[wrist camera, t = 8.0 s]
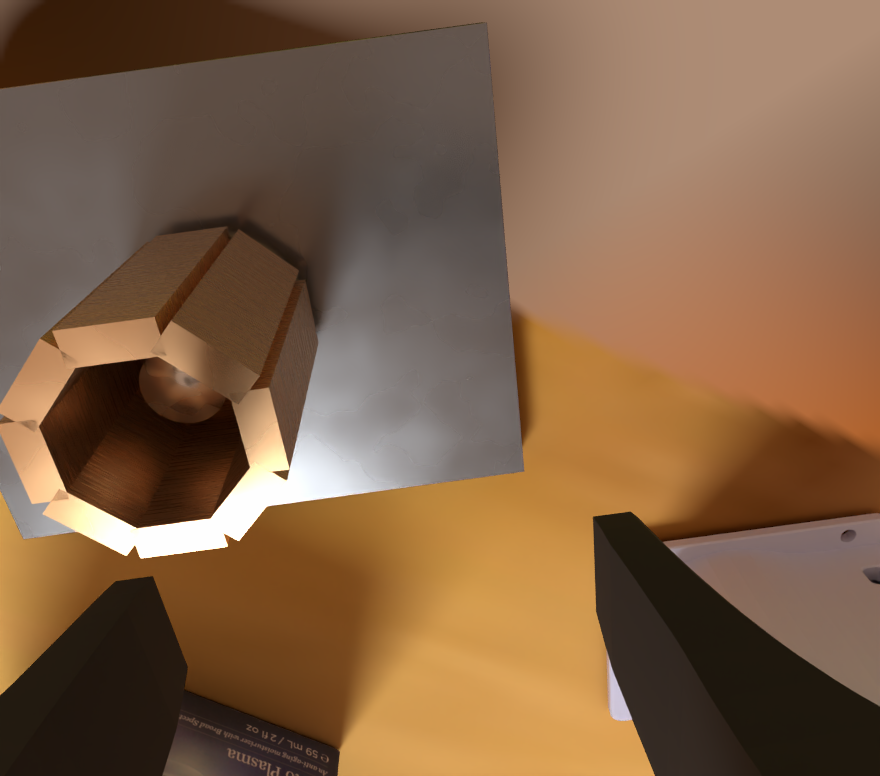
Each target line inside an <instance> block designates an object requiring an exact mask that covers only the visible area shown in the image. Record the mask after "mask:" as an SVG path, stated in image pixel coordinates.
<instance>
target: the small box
mask: <svg viewBox="0 0 880 776" xmlns="http://www.w3.org/2000/svg"><path fill="white" fill-rule="evenodd" d="M339 755H340V752H339V750H337V749H335V748H333V747H331V746H328V745H325V744H322V743H320V742H317V741H314V740H312V739H309V738H307V737H304V736H301V735H299V734H296V733H294V732H291V731H289V730H286V729H283V728H281V727H278V726H275V725H273V724H270V723H267V722H265V721H262V720H260V719H257V718H255V717H252V716H249V715H247V714H244V713H242V712H239V711H237V710H234V709H232V708H229V707H226V706H223V705H221V704H218V703H216V702H213V701H210V700H208V699H205V698H203V697H200V696H197V695H195V694H192V693H190V692H187V691H185V690H184V693H183V699H182V704H181V709H180V714H179V719H178V725H177V729H176V733H175V736H174V739H173V743H172V746H171V749H170V753H169V756H168V759H167V762H166V766H165V769H164V772H163V775H162V776H337V775H338V763H339Z"/></svg>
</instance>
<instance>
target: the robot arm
mask: <svg viewBox="0 0 880 776" xmlns="http://www.w3.org/2000/svg"><path fill="white" fill-rule="evenodd" d="M593 528H594V557H595V587H596V612H597V616H598V620H599V624H600V627H601V631H602V635H603V638H604V642H605V646H606V649H607V683H608V708H609V711H610V714H611V717H612V718H613V719H615V720H618V721H626V720H633V722H634V725H635V727H636V730H637V732H638V735H639V737H640V740H641V742H642V744H643V747H644V749H645V752H646V754H647V757H648V759H649V762H650V764H651V767H652V769H653V771H654V774H655V776H880V513H873V514H865V515H858V516H850V517H843V518H836V519H828V520H821V521H813V522H806V523H799V524H791V525H784V526H776V527H769V528H762V529H754V530H747V531H739V532H732V533H725V534H717V535H710V536H702V537H695V538H688V539H680V540H673V541H665V542H662V541H661V540H660V539H659V538H658V537H657V536H656V535H655V534H654V533H653V532H652V531H651V530H650V529H649V528H648V527H647V526H646V525H645V524H644V523H643V522H642V521H641V520H640V519H639V518H638V517H637V516H635V515H634V514H633V513H632V512H625V513H618V514H610V515H603V516H595V517H593ZM846 530H848V531H847V532H846V533H845V534H842V533H843V532H844V531H846ZM841 534H842V535H841ZM187 668H188V667H187V664H186V661H185V659H184V656H183V654H182V651H181V648H180V646H179V643H178V641H177V638H176V635H175V633H174V630H173V628H172V625H171V623H170V620H169V617H168V615H167V612H166V610H165V607H164V604H163V602H162V599H161V597H160V594H159V591H158V589H157V586H156V584H155V581H154V579H153V576H152V577H144V578H137V579H130V580H122V581H116V582H114V583H113V584H112V585H111V586H110V587H109V588H108V589H107V590H106V591H105V592H104V593H103V594H102V595H101V596H100V597H99V598H98V599H97V600H96V601H95V602H94V603H93V604H92V605H91V606H90V607H89V608H88V609H87V610H86V611H85V612H84V613H83V614H82V615H81V616H80V617H79V618H78V619H77V620H76V621H75V622H74V623H73V624H72V625H71V626H70V627H69V628H68V629H67V630H66V631H65V632H64V633H63V634H62V635H61V636H60V637H59V638H58V639H57V640H56V641H55V642H54V643H53V644H52V645H51V646H50V647H49V648H48V649H47V650H46V651H45V652H44V653H43V654H42V655H41V656H40V657H39V658H38V659H37V660H36V661H35V662H34V663H33V664H32V665H31V666H30V667H29V668H28V669H27V670H26V671H25V672H24V673H23V674H22V675H21V676H20V677H19V678H18V679H17V680H16V681H15V682H14V683H13V684H12V685H11V686H10V687H9V688H8V689H7V690H6V691H5V692H3V693H2V694H1V695H0V776H162V775H163V772H164V769H165V766H166V762H167V759H168V756H169V753H170V749H171V746H172V743H173V739H174V736H175V733H176V729H177V725H178V719H179V714H180V709H181V704H182V699H183V693H184V686H185V680H186V674H187Z"/></svg>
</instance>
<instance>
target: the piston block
mask: <svg viewBox="0 0 880 776" xmlns="http://www.w3.org/2000/svg"><path fill="white" fill-rule="evenodd" d="M226 226H227V227H228V231H229V235H230V238H231V239H232V237H233V236H234V235H235V233H236V232H237V231H238V229H239V230H241V231H242V232H244V233H245V234H247V235H248V236H250V237H251V238H252V239H254V240H255V241H257V242H258V243H260V244H261V245H263V246H264V247H266V248H267V249H268V250H270V251H271V252H273V253H274V254H276V255H277V256H279V257H280V258H282V259H283V260H284V261H286V262H287V263H289V264H290V265H292V266H293V267H295V268H296V269H298V270H299V272H298V275H297V278H296V280H295V281H298V280H305V281H306V286H307V290H308V295H309V300H310V304H311V309H312V314H313V318H314V323H315V328H316V333H317V337H318V342H319V343H318V347H317V352H316V356H315V361H314V365H313V369H312V374H311V378H310V383H309V387H308V391H307V396H306V400H305V405H304V409H303V413H302V418H301V422H300V426H299V431H298V435H297V440H296V444H295V448H294V453H293V457H292V462H291V466H290V470H289V475H288V479H287V482H286V483H285V484H284V486H283V487H282V488H281V489H280V490H279V492H278V493H277V494H276V495H275V497H274V498H273V499H272V500H271V502H270V503H269V504H268V505H267V506H272V505H279V504H287V503H294V502H302V501H309V500H316V499H324V498H331V497H339V496H346V495H353V494H361V493H368V492H375V491H383V490H390V489H398V488H405V487H412V486H420V485H427V484H435V483H442V482H449V481H457V480H464V479H471V478H479V477H486V476H494V475H501V474H508V473H516V472H523V471H524V463H523V451H522V439H521V427H520V415H519V403H518V391H517V379H516V367H515V355H514V343H513V331H512V319H511V307H510V295H509V284H508V272H507V259H506V247H505V236H504V223H503V212H502V199H501V187H500V176H499V164H498V151H497V139H496V127H495V116H494V103H493V92H492V79H491V67H490V56H489V44H488V32H487V23H476V24H468V25H461V26H453V27H446V28H439V29H431V30H424V31H417V32H409V33H402V34H395V35H387V36H380V37H374V38H366V39H358V40H351V41H345V42H337V43H329V44H322V45H314V46H307V47H300V48H293V49H286V50H278V51H270V52H263V53H256V54H248V55H242V56H234V57H227V58H219V59H212V60H205V61H198V62H190V63H183V64H176V65H169V66H161V67H153V68H146V69H139V70H132V71H124V72H117V73H110V74H102V75H95V76H88V77H80V78H73V79H66V80H59V81H52V82H44V83H36V84H29V85H22V86H15V87H7V88H0V404H1V403H2V401H3V399H4V398H5V396H6V394H7V393H8V391H9V389H10V387H11V386H12V384H13V382H14V381H15V379H16V377H17V376H18V374H19V372H20V371H21V369H22V367H23V366H24V364H25V362H26V361H27V359H28V357H29V356H30V354H31V352H32V351H33V349H34V347H35V345H36V344H37V342H38V340H39V339H40V338H41V337H42V336H43V335H44V334H45V333H46V332H47V331H49V330H50V329H51V328H52V327H53V326H54V325H55V324H56V323H57V322H59V321H60V320H61V319H62V318H63V317H64V316H65V315H66V314H67V313H69V312H70V311H71V310H72V309H73V308H74V307H75V306H76V305H77V304H79V303H80V302H81V301H82V300H83V299H84V298H85V297H86V296H87V295H89V294H90V293H91V292H92V291H93V290H94V289H95V288H96V287H97V286H99V285H100V284H101V283H102V282H103V281H104V280H105V279H106V278H107V277H109V276H110V275H111V274H112V273H113V272H114V271H115V270H116V269H117V268H119V267H120V266H121V265H122V264H123V263H124V262H125V261H126V260H127V259H129V258H130V257H131V256H132V255H133V254H134V253H135V252H136V251H137V250H139V249H140V248H141V247H142V246H143V245H144V244H145V243H146V242H147V241H148V242H150V241H151V240H153V239H154V238H155V237H156V236H159V235H166V234H174V233H181V232H189V231H196V230H203V229H211V228H218V227H226ZM139 386H140V390H141V393H142V395H143V397H144V399H145V401H146V402H147V403H148V405H149V406H150V407H151V408H152V409H153V410H154V411H155V412H157V413H158V414H160V415H161V416H163V417H165V418H167V419H170V420H172V421H176V422H181V423H195V422H200V421H203V420H206V419H208V418H210V417H212V416H213V415H214V414H216V413H217V412H218V411H219V409H220V408H221V407H222V405H223V403H224V401H225V399H226V397H225V396H223V395H221V394H220V393H218V392H216V391H215V390H213V389H211V388H210V387H208V386H206V385H205V384H203V383H201V382H200V381H198V380H196V379H195V378H193V377H191V376H190V375H188V374H186V373H185V372H183V371H181V370H180V369H178V368H176V367H175V366H173V365H171V364H170V363H168V362H166V361H165V360H163V359H161V358H160V357H152V358H147V360H146V361H145V362H144V364H143V366H142V368H141V371H140V375H139ZM3 417H4V415H2V414H0V420H1V419H2V418H3ZM0 491H1V493H2V495H3V497H4V499H5V501H6V503H7V505H8V508H9V510H10V512H11V514H12V516H13V518H14V520H15V522H16V524H17V527H18V529H19V531H20V533H21V535H22V537H23V539H28V538H36V537H43V536H51V535H58V534H65V533H73V532H77V531H75V530H73V529H71V528H69V527H67V526H65V525H63V524H61V523H59V522H57V521H55V520H53V519H51V518H49V517H47V516H45V515H43V512H44V511H45V509H46V508H47V506H48V505H49V503H50V502H43V503H36V504H32V503H31V501H30V498H29V496H28V494H27V492H26V490H25V487H24V485H23V483H22V481H21V479H20V476H19V474H18V472H17V470H16V468H15V465H14V463H13V461H12V459H11V457H10V454H9V452H8V450H7V448H6V446H5V443H4V441H3V439H2V437H1V435H0Z"/></svg>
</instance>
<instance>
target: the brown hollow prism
mask: <svg viewBox="0 0 880 776" xmlns="http://www.w3.org/2000/svg"><path fill="white" fill-rule="evenodd" d="M298 272H299V270H298V269H296V268H295V267H293V266H292V265H290V264H289V263H287V262H286V261H284V260H283V259H282V258H280V257H279V256H277V255H276V254H274V253H273V252H271V251H270V250H268V249H267V248H266V247H264V246H263V245H261V244H260V243H258V242H257V241H255V240H254V239H252V238H251V237H250V236H248V235H247V234H245V233H244V232H242V231H241V230H239V229H238V231H237V232H236V233H235V235H234V236H233V237H232V239H231V238H230V235H229V231H228V227H227V226H226V227H218V228H211V229H203V230H196V231H189V232H181V233H174V234H166V235H159V236H156V237H155V238H154V239H153V240H151V241H150V242H148V241H147V242H146V243H145V244H144V245H143V246H142V247H141V248H140V249H139V250H137V251H136V252H135V253H134V254H133V255H132V256H131V257H130V258H129V259H127V260H126V261H125V262H124V263H123V264H122V265H121V266H120V267H119V268H117V269H116V270H115V271H114V272H113V273H112V274H111V275H110V276H109V277H107V278H106V279H105V280H104V281H103V282H102V283H101V284H100V285H99V286H97V287H96V288H95V289H94V290H93V291H92V292H91V293H90V294H89V295H87V296H86V297H85V298H84V299H83V300H82V301H81V302H80V303H79V304H77V305H76V306H75V307H74V308H73V309H72V310H71V311H70V312H69V313H67V314H66V315H65V316H64V317H63V318H62V319H61V320H60V321H59V322H57V323H56V324H55V325H54V326H53V327H52V328H51V329H50V330H49V331H47V332H46V333H45V334H44V335H43V336H42V337H41V338H40V339H39V340H38V342H37V344H36V345H35V347H34V349H33V351H32V352H31V354H30V356H29V357H28V359H27V361H26V362H25V364H24V366H23V367H22V369H21V371H20V372H19V374H18V376H17V377H16V379H15V381H14V382H13V384H12V386H11V387H10V389H9V391H8V393H7V394H6V396H5V398H4V399H3V401H2V403H1V404H0V414H2V415H4V417H3V418H2V419H1V420H0V435H1V437H2V439H3V441H4V443H5V446H6V448H7V450H8V452H9V454H10V457H11V459H12V461H13V463H14V465H15V468H16V470H17V472H18V474H19V476H20V479H21V481H22V483H23V485H24V487H25V490H26V492H27V494H28V496H29V498H30V501H31V503H32V504H36V503H43V502H50V503H49V505H48V506H47V508H46V509H45V511H44V512H43V515H45V516H47V517H49V518H51V519H53V520H55V521H57V522H59V523H61V524H63V525H65V526H67V527H69V528H71V529H73V530H75V531H77V532H79V533H81V534H83V535H85V536H87V537H89V538H91V539H93V540H95V541H97V542H99V543H101V544H103V545H105V546H107V547H109V548H111V549H113V550H115V551H117V552H119V553H121V554H123V555H126V556H127V555H128V553H129V552H130V551H131V549H132V548H133V547H134V545H136V548H137V550H138V553H139V555H140V558H147V557H155V556H162V555H170V554H177V553H184V552H192V551H199V550H207V549H214V548H222V547H228V543H229V540H230V537H232V538H234V539H236V540H238V541H239V540H240V539H241V537H242V536H243V535H244V534H245V533H246V531H247V530H248V529H249V528H250V526H251V525H252V524H253V523H254V521H255V520H256V519H257V518H258V516H259V515H260V514H261V513H262V512H263V510H264V509H265V508H266V507H267V505H268V504H269V503H270V502H271V500H272V499H273V498H274V497H275V495H276V494H277V493H278V492H279V490H280V489H281V488H282V487H283V486H284V484H285V483H286V482H287V479H288V475H289V470H290V466H291V462H292V457H293V453H294V448H295V444H296V440H297V435H298V431H299V426H300V422H301V418H302V413H303V409H304V405H305V400H306V396H307V391H308V387H309V383H310V378H311V374H312V369H313V365H314V361H315V356H316V352H317V347H318V343H319V342H318V337H317V333H316V328H315V323H314V318H313V314H312V309H311V304H310V300H309V295H308V290H307V286H306V281H305V280H298V281H295V280H296V278H297V275H298ZM152 357H160V358H161V359H163V360H165V361H166V362H168V363H170V364H171V365H173V366H175V367H176V368H178V369H180V370H181V371H183V372H185V373H186V374H188V375H190V376H191V377H193V378H195V379H196V380H198V381H200V382H201V383H203V384H205V385H206V386H208V387H210V388H211V389H213V390H215V391H216V392H218V393H220V394H221V395H223V396H225V397H226V399H225V401H224V403H223V405H222V407H221V408H220V409H219V411H218V412H217V413H216V414H214V415H213V416H212V417H210V418H208V419H206V420H203V421H200V422H195V423H181V422H176V421H172V420H170V419H167V418H165V417H163V416H161V415H160V414H158V413H157V412H155V411H154V410H153V409H152V408H151V407H150V406H149V405H148V403H147V402H146V401H145V399H144V397H143V395H142V393H141V390H140V386H139V375H140V371H141V368H142V366H143V364H144V362H145V361H146V360H147V358H152Z"/></svg>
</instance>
